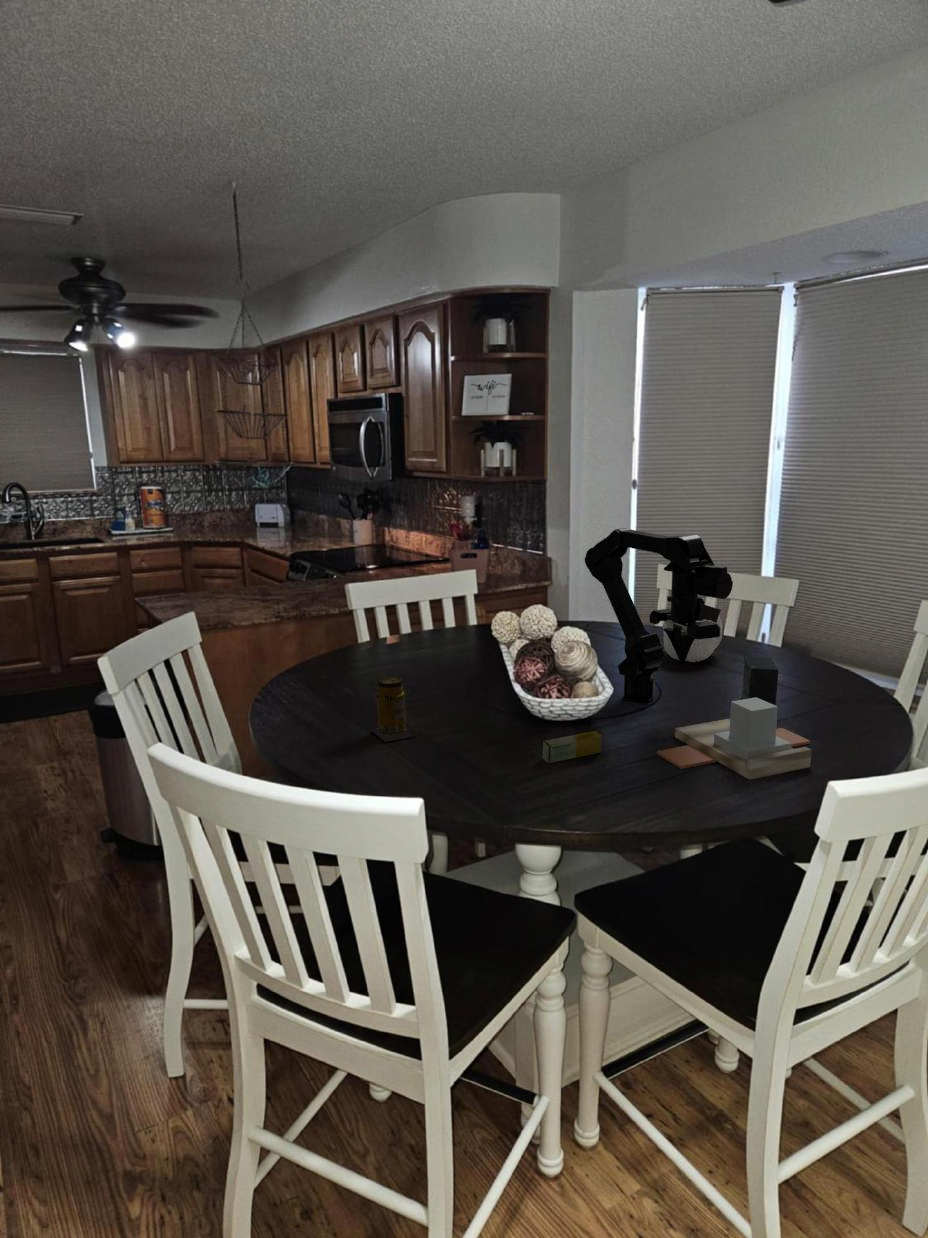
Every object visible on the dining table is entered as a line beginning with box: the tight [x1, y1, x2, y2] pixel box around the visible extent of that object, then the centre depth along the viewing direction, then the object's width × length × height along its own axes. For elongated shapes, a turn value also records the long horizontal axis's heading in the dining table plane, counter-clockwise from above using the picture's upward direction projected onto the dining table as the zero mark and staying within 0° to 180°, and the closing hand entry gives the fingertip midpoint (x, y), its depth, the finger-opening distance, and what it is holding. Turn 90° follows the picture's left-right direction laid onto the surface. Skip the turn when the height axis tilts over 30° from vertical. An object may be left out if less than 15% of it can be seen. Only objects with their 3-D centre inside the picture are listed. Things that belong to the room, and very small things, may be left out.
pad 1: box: [656, 744, 717, 770], centre depth 155 cm, size 8×8×1 cm
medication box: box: [542, 730, 602, 764], centre depth 157 cm, size 12×3×4 cm, turn 111°
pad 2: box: [776, 727, 811, 748], centre depth 162 cm, size 8×8×1 cm
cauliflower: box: [662, 602, 724, 663], centre depth 222 cm, size 20×18×16 cm
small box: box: [741, 655, 779, 706], centre depth 182 cm, size 11×6×10 cm, turn 168°
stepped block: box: [714, 697, 792, 760], centre depth 153 cm, size 10×10×9 cm
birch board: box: [674, 718, 812, 781], centre depth 157 cm, size 23×14×4 cm, turn 20°
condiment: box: [376, 677, 407, 735], centre depth 170 cm, size 7×8×12 cm
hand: (682, 660), depth 178 cm, fingers closed
